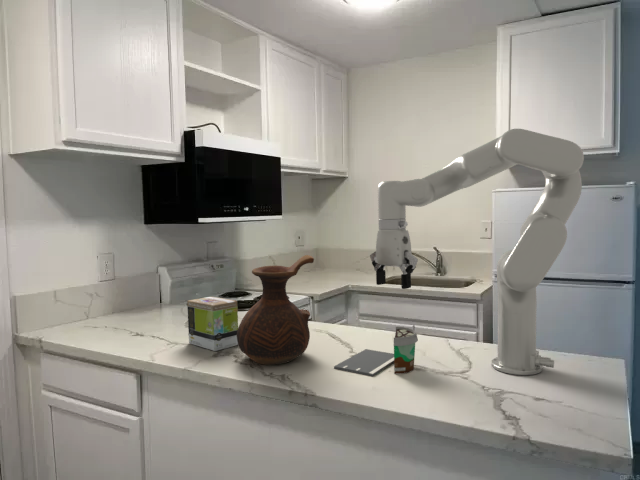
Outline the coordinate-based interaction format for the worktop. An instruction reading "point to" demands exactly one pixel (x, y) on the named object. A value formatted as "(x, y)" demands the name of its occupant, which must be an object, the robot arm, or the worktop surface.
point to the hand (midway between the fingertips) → (393, 286)
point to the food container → (404, 350)
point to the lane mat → (367, 362)
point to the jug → (275, 319)
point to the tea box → (213, 322)
